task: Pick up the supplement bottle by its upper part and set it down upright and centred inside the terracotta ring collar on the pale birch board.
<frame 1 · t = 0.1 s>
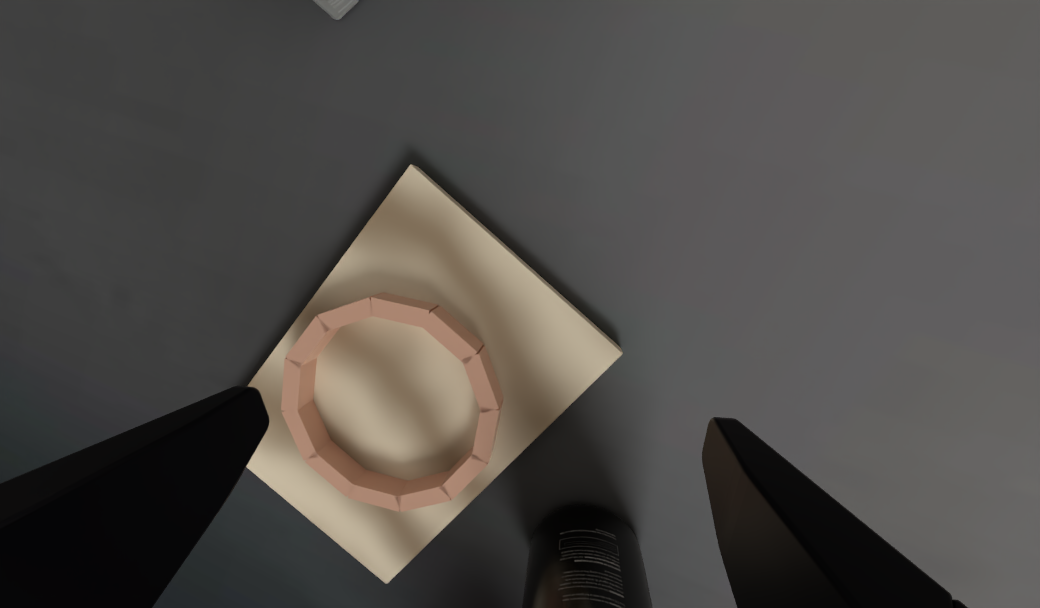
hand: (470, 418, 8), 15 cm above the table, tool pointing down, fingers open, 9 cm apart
birch board: (403, 392, 26), on the table
supplement bottle: (584, 545, 26), on the table
ring collar: (391, 404, 24), on the birch board, point 1 cm above the table
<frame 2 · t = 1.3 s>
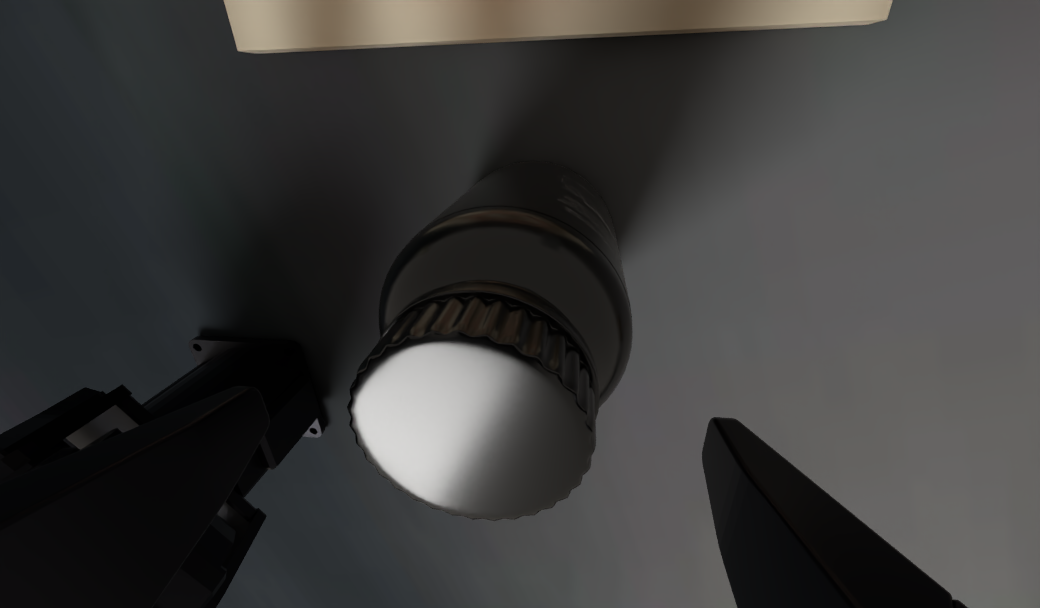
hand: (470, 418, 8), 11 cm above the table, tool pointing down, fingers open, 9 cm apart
supplement bottle: (535, 239, 19), on the table
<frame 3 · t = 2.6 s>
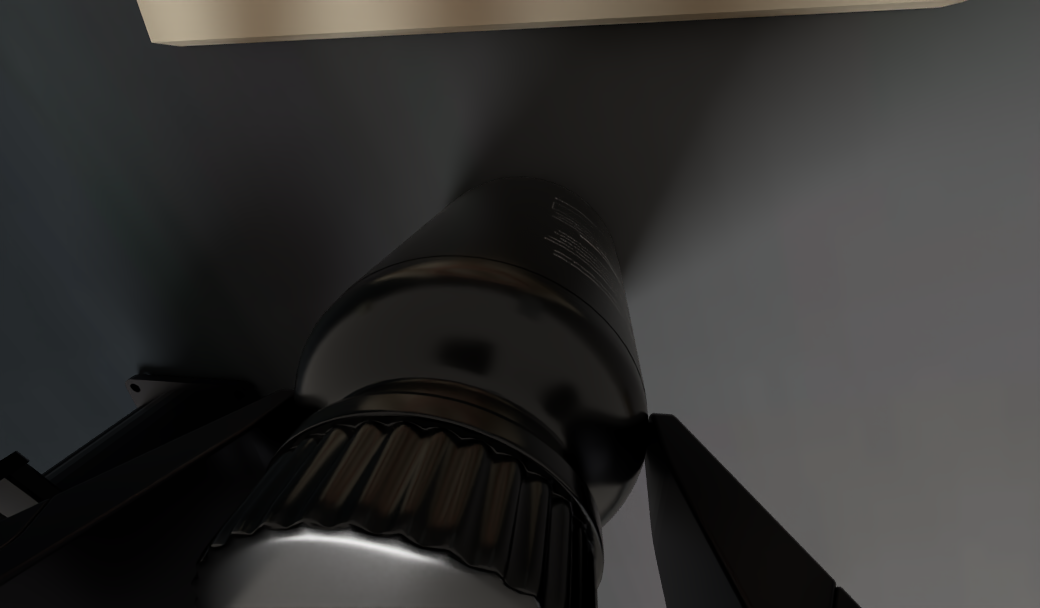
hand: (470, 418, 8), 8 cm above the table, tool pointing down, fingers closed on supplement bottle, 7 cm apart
supplement bottle: (522, 268, 16), on the table, touching gripper
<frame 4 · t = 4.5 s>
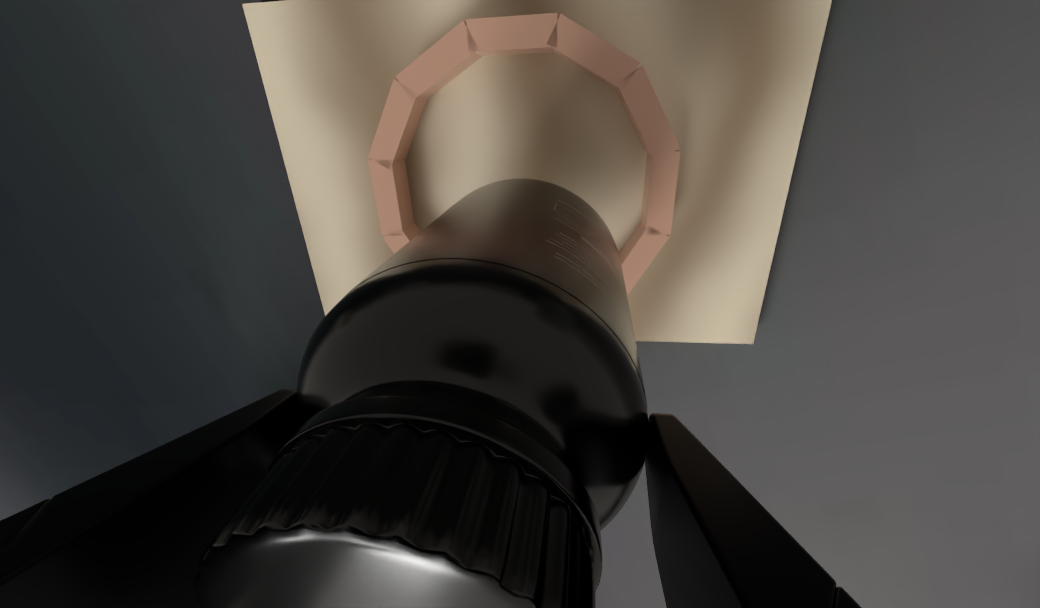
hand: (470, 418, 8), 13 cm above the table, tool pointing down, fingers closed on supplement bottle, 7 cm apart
birch board: (525, 186, 19), on the table
supplement bottle: (525, 269, 16), point 5 cm above the table, touching gripper
ring collar: (520, 193, 18), on the birch board, point 1 cm above the table
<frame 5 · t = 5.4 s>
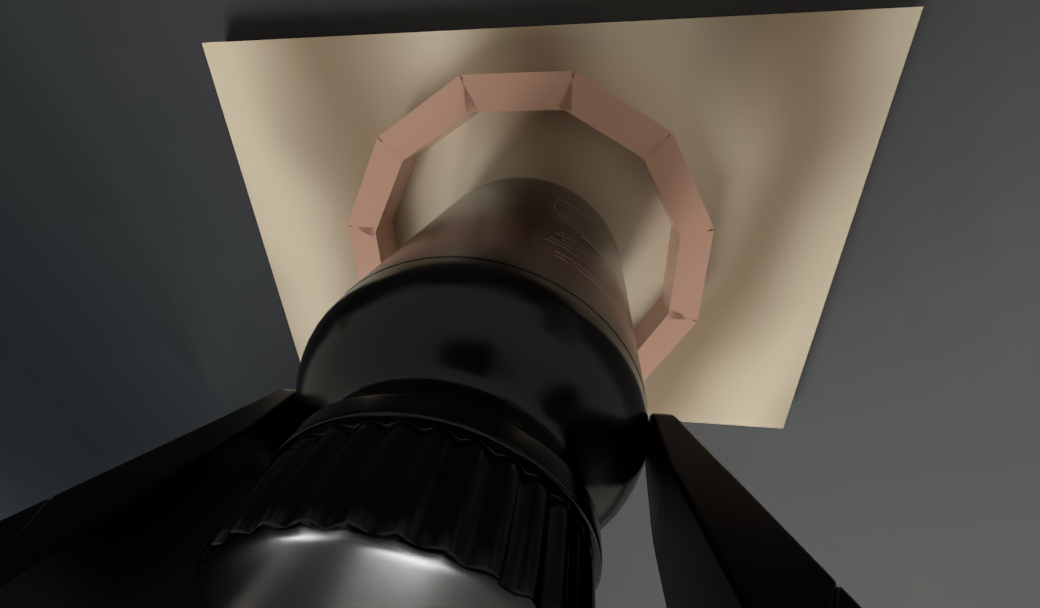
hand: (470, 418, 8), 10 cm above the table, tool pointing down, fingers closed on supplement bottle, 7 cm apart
birch board: (529, 249, 17), on the table
supplement bottle: (525, 268, 16), point 2 cm above the table, touching gripper
ring collar: (524, 265, 15), on the birch board, point 1 cm above the table
when the fingers open (10 cm above the table, at t = 6.3 s): supplement bottle stays where it is, resting on birch board.
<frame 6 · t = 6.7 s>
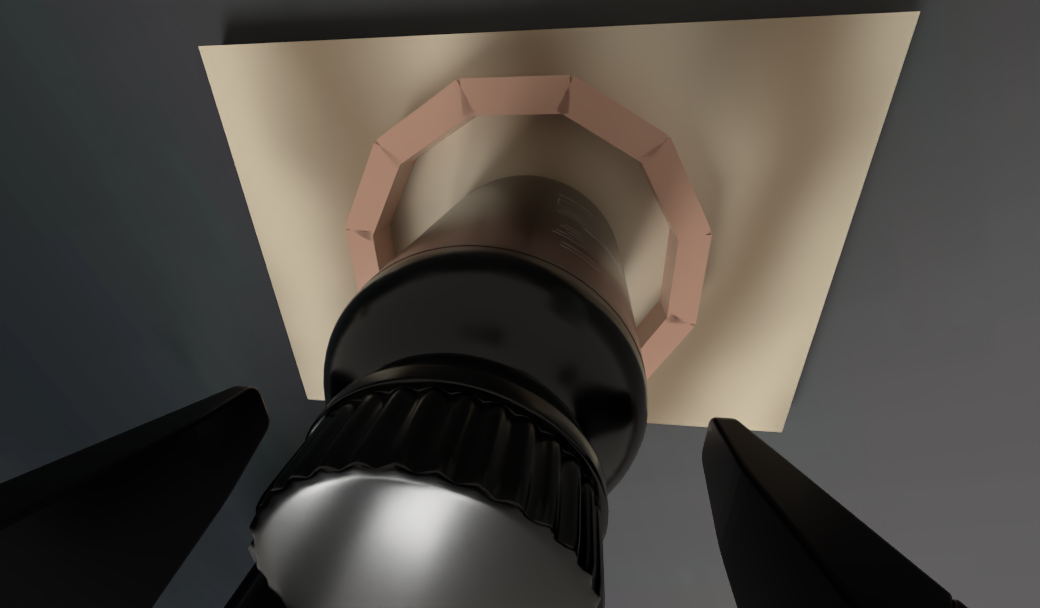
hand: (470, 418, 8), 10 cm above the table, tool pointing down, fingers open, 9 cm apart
birch board: (527, 253, 17), on the table
supplement bottle: (528, 262, 16), point 1 cm above the table, touching birch board
ring collar: (522, 269, 15), on the birch board, point 1 cm above the table
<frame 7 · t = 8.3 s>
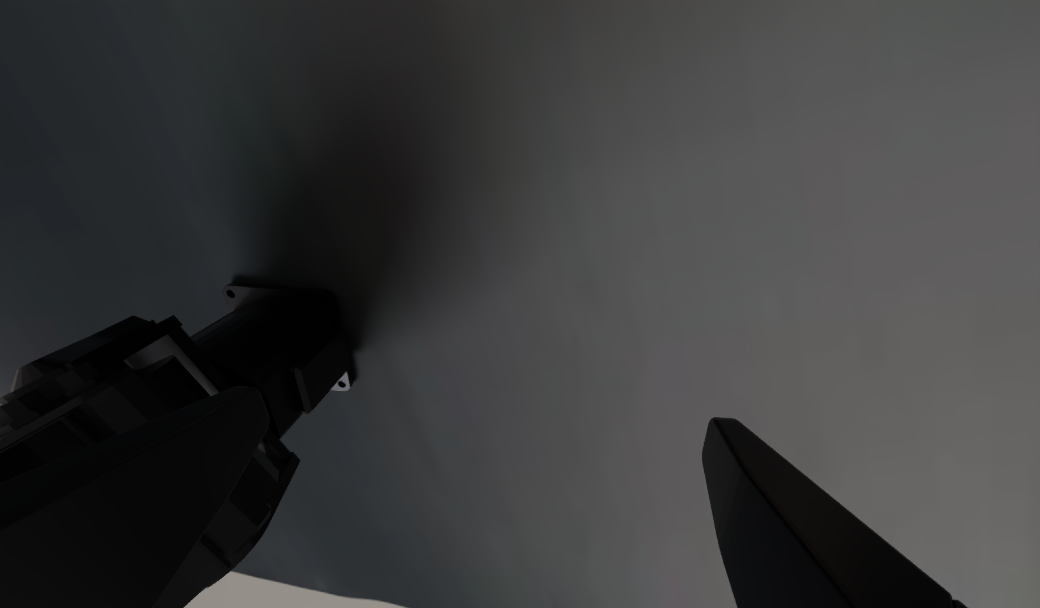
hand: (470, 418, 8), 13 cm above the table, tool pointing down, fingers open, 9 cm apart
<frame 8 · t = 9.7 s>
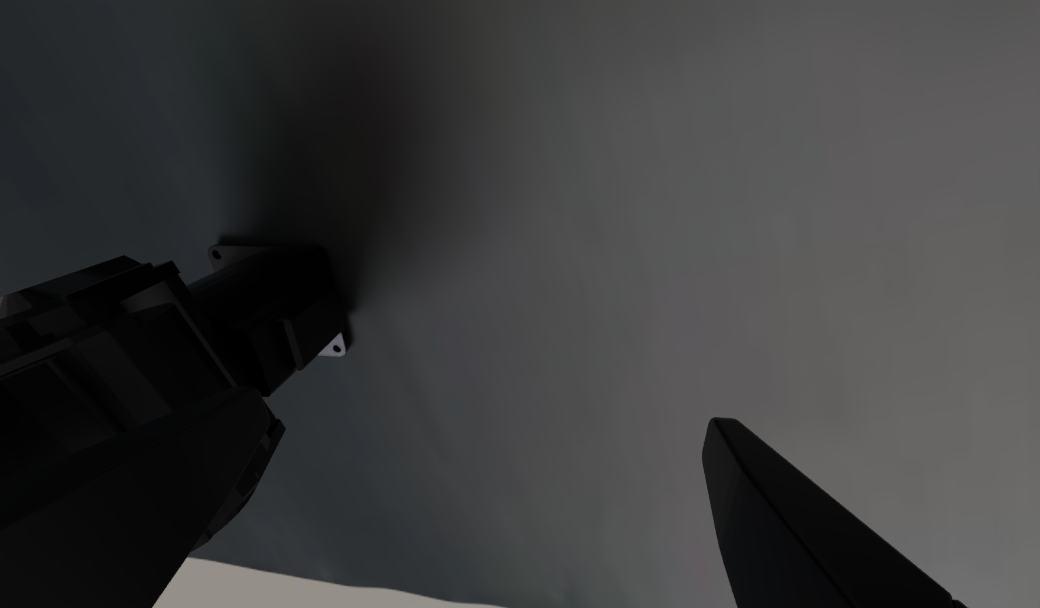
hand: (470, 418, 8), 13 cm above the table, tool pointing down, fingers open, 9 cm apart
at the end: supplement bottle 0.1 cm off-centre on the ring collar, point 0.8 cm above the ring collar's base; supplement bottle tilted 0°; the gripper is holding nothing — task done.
